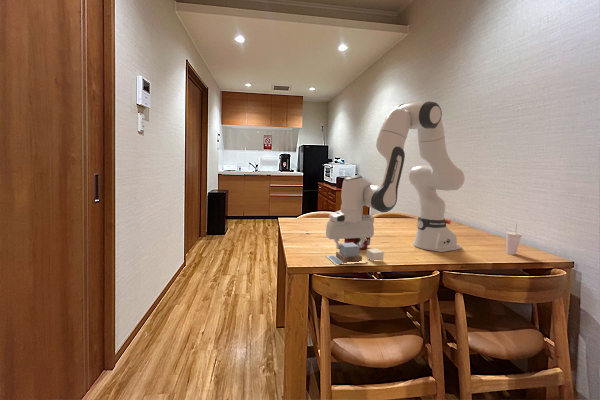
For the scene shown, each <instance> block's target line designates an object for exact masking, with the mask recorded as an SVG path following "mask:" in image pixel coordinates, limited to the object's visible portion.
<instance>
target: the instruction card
mask: <svg viewBox="0 0 600 400" xmlns="http://www.w3.org/2000/svg"><path fill="white" fill-rule="evenodd" d="M325 258H326V259H328V260H329V259H330V260H331V261H332V262H333V263H334V265H335V264H342V263H343V262H342V261H341V260H340V259H339V258H337V257H336V254H332V255H325ZM330 260H329V261H330ZM331 261H330V262H331ZM332 262H331V263H332ZM333 263H332V264H333ZM343 264H344V263H343Z"/></svg>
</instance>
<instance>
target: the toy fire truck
mask: <svg viewBox="0 0 600 400" xmlns="http://www.w3.org/2000/svg"><path fill="white" fill-rule="evenodd" d="M360 240H361V239H360V238H347V239H344V241H343V243H355V244H356V245H357V243H359V242H360ZM370 245H371V237H366V238H365V241H364V243H363V244H362V248H359V250H363V251H364V250H365V251H366V250H367V249H368V246H370Z"/></svg>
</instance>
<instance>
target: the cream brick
mask: <svg viewBox="0 0 600 400" xmlns="http://www.w3.org/2000/svg"><path fill="white" fill-rule="evenodd" d="M384 254H385V252H384V251H383V250H380V249H379V248H378V247H377V248H366V255H365V257H367V258H369V259H371V260H372V261H374V260H383V261H384V257H385V255H384ZM367 258H366V259H367ZM369 259H368V260H369ZM372 261H371V262H372Z"/></svg>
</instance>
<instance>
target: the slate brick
mask: <svg viewBox="0 0 600 400" xmlns="http://www.w3.org/2000/svg"><path fill="white" fill-rule="evenodd" d="M339 244H340V245H341V249H339V252H340V253H341V254H342V255H343V256H345V257H354V256H359V255H360V248H359V246H358V245H356V244H355V243H345V242H341V243H339Z"/></svg>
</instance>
